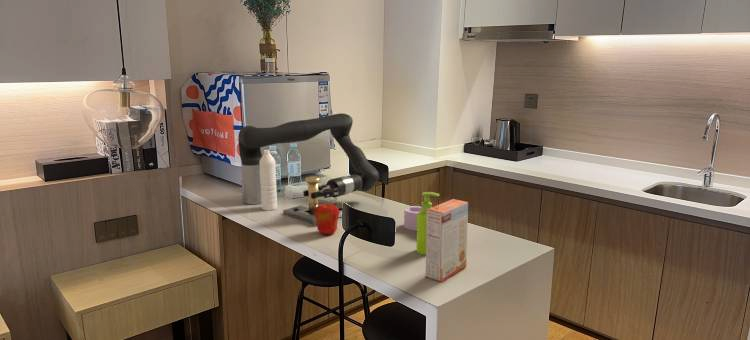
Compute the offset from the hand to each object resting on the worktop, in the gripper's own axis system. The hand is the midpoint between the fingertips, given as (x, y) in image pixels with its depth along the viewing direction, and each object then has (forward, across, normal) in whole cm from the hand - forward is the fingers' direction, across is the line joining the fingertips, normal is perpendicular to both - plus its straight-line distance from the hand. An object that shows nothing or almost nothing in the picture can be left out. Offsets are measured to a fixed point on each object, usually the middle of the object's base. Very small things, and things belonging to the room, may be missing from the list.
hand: (307, 194), depth 194 cm
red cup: (+4, +16, +10) cm, 20 cm away
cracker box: (+2, +67, +10) cm, 68 cm away
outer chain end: (-3, +2, +10) cm, 11 cm away
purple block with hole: (-24, +41, +11) cm, 49 cm away
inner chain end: (-3, -4, +10) cm, 12 cm away
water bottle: (+1, -23, +10) cm, 25 cm away
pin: (-3, 0, +9) cm, 9 cm away
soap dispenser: (-7, +53, +10) cm, 54 cm away
